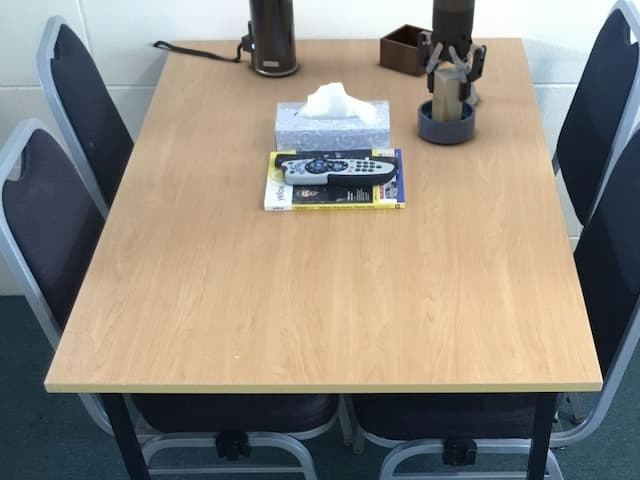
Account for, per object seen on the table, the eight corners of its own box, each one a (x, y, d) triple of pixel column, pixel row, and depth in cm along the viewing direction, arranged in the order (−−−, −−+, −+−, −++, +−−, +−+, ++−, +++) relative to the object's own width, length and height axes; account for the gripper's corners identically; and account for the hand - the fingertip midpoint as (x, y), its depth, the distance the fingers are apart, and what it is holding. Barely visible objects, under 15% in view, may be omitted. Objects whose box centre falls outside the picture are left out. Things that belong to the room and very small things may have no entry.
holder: (379, 65, 192) (379, 38, 188) (405, 49, 198) (406, 23, 194) (418, 76, 188) (419, 49, 184) (443, 60, 194) (445, 34, 190)
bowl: (406, 135, 170) (407, 113, 167) (436, 114, 176) (438, 92, 173) (454, 151, 166) (456, 128, 163) (484, 129, 172) (486, 106, 169)
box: (430, 126, 172) (433, 69, 164) (449, 122, 173) (453, 65, 165) (441, 137, 169) (445, 80, 160) (461, 133, 170) (465, 76, 162)
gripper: (499, 3, 153) (490, 98, 165) (431, -13, 158) (427, 80, 171) (477, 17, 149) (470, 113, 161) (408, -1, 154) (406, 94, 167)
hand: (448, 96), depth 166 cm, fingers closed on box, 6 cm apart
